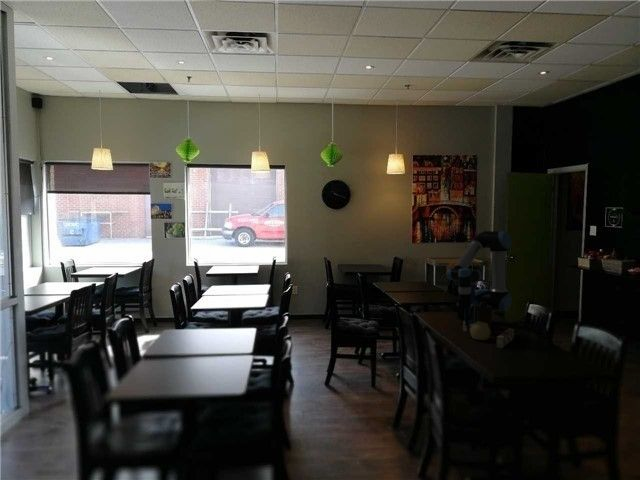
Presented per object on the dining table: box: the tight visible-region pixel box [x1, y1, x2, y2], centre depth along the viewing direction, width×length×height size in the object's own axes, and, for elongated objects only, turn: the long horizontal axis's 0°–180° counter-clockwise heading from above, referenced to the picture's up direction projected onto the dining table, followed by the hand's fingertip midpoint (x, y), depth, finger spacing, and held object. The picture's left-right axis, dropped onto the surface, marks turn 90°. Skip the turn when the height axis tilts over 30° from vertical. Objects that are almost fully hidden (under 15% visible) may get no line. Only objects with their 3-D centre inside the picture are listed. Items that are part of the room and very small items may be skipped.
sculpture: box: [469, 321, 491, 341], centre depth 282 cm, size 11×12×11 cm
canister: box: [474, 301, 492, 335], centre depth 297 cm, size 11×10×20 cm
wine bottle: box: [464, 282, 480, 329], centre depth 315 cm, size 14×13×30 cm
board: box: [496, 328, 515, 349], centre depth 273 cm, size 24×3×6 cm, turn 142°
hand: (464, 330), depth 288 cm, fingers closed
